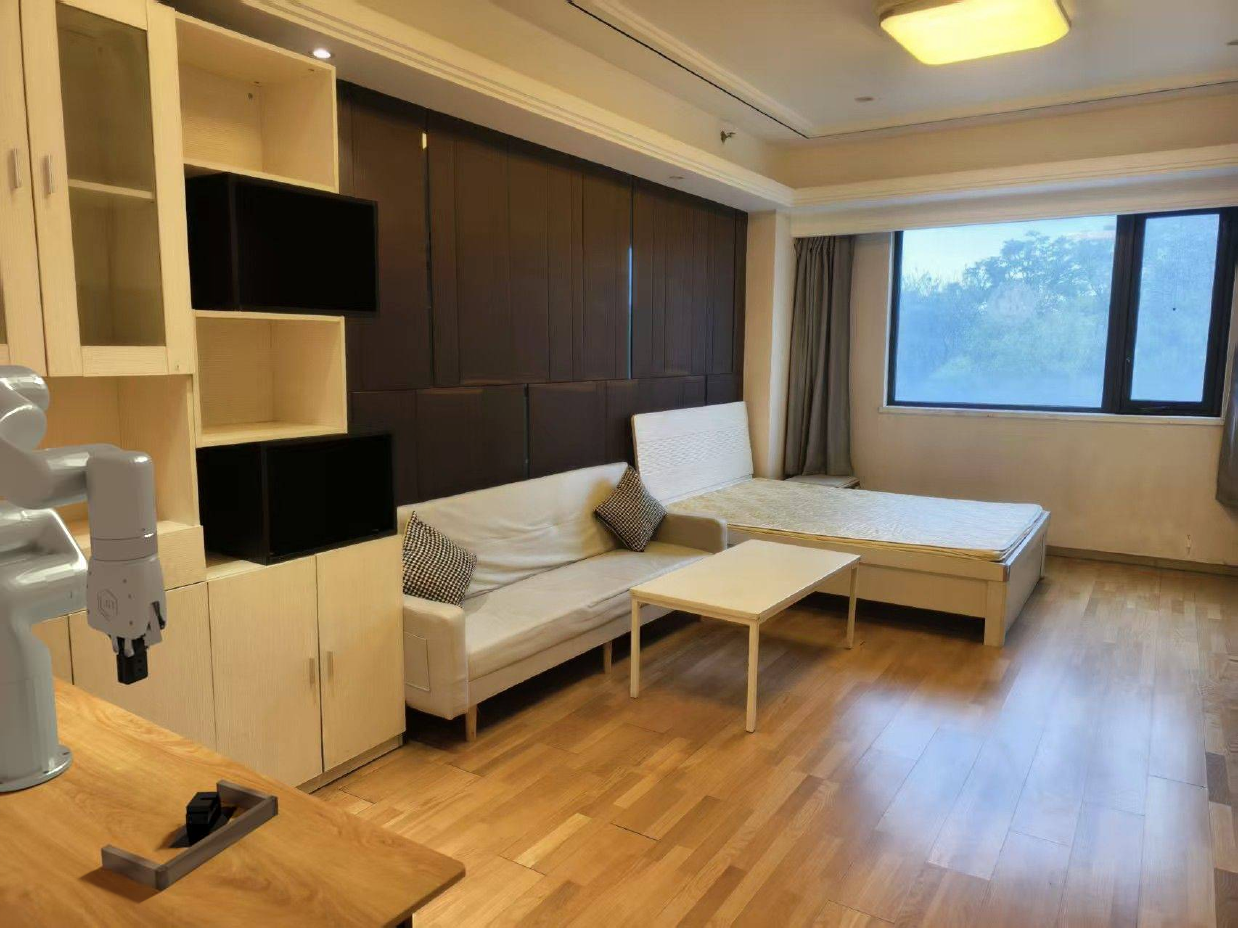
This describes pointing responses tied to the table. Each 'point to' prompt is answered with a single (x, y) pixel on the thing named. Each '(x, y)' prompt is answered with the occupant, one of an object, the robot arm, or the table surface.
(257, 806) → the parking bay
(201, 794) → the build plate
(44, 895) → the table surface
